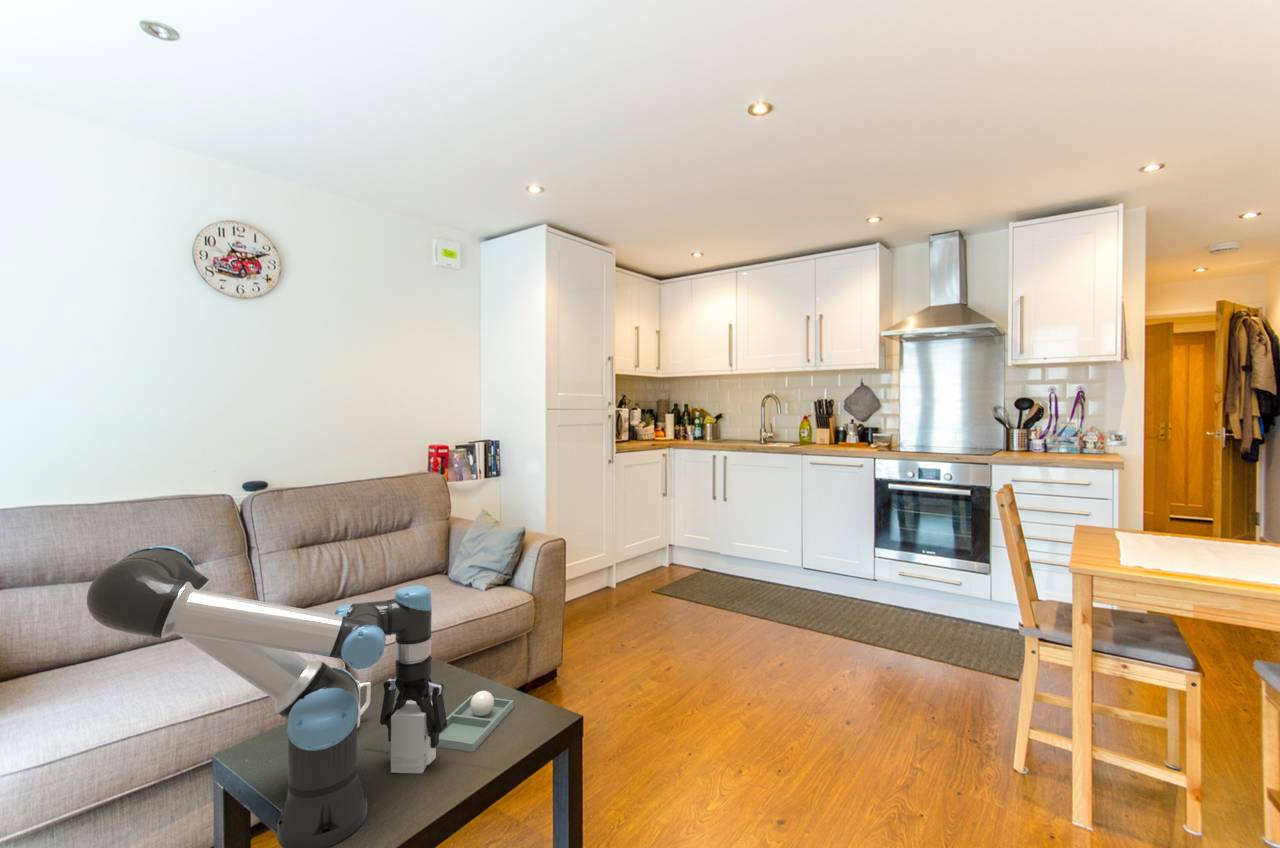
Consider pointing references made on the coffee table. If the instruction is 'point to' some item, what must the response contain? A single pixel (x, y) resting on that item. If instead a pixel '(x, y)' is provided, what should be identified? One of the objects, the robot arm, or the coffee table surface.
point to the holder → (472, 725)
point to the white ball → (482, 703)
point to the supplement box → (408, 739)
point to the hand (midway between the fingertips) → (413, 758)
